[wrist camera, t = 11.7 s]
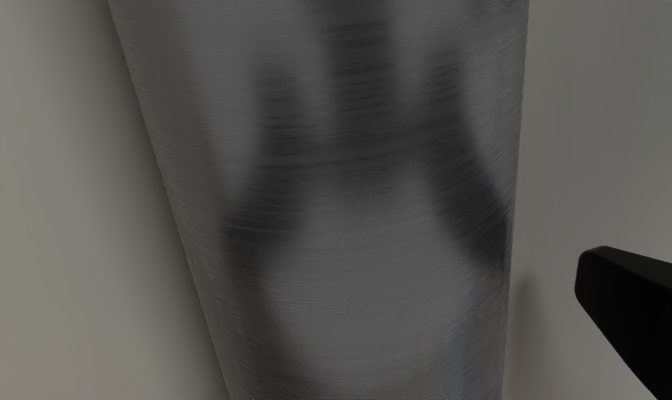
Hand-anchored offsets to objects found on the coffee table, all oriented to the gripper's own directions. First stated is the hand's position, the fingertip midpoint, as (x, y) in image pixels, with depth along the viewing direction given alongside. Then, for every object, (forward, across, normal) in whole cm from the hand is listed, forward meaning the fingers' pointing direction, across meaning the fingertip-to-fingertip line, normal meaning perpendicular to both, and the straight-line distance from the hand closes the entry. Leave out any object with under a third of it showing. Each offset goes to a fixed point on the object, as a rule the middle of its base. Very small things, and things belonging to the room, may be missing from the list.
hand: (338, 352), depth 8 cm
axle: (0, 0, -5) cm, 5 cm away
